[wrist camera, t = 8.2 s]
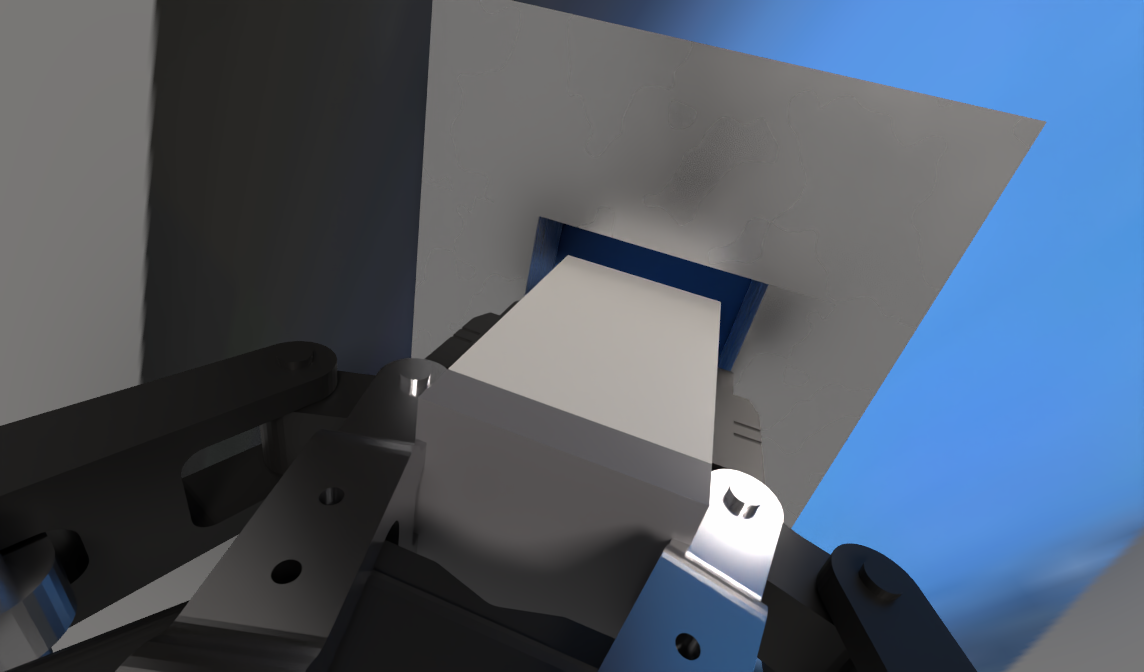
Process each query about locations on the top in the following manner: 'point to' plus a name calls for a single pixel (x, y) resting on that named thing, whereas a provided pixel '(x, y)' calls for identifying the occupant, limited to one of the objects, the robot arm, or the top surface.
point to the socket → (705, 198)
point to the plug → (572, 444)
